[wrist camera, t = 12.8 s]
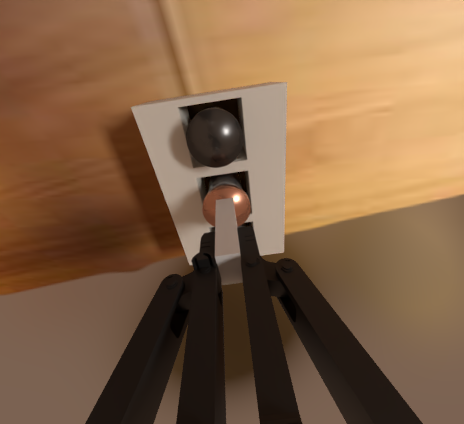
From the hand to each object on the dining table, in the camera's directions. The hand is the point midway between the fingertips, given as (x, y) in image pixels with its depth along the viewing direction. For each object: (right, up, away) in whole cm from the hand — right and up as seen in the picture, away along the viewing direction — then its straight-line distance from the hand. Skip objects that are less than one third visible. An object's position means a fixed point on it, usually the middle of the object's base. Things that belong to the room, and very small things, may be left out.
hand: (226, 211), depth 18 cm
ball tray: (0, +4, +7) cm, 8 cm away
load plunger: (0, +3, +5) cm, 6 cm away
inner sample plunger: (-1, +9, +3) cm, 9 cm away
